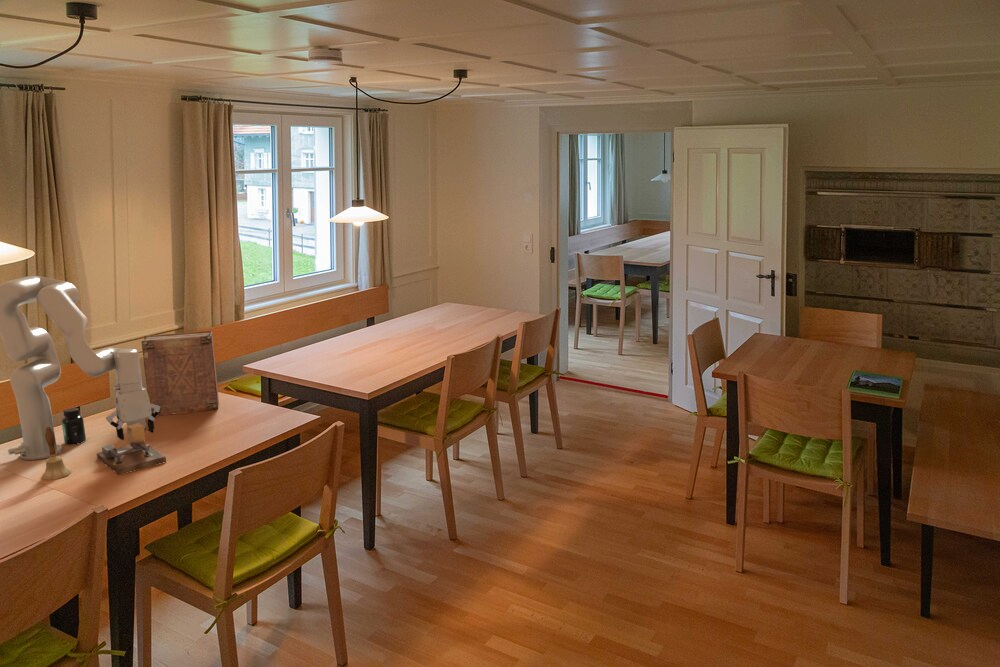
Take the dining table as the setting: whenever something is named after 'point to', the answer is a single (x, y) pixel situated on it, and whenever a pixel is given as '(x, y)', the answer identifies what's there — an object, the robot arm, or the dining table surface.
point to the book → (181, 372)
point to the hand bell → (54, 460)
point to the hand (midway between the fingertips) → (136, 435)
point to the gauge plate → (129, 458)
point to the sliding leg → (137, 437)
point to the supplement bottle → (73, 426)
